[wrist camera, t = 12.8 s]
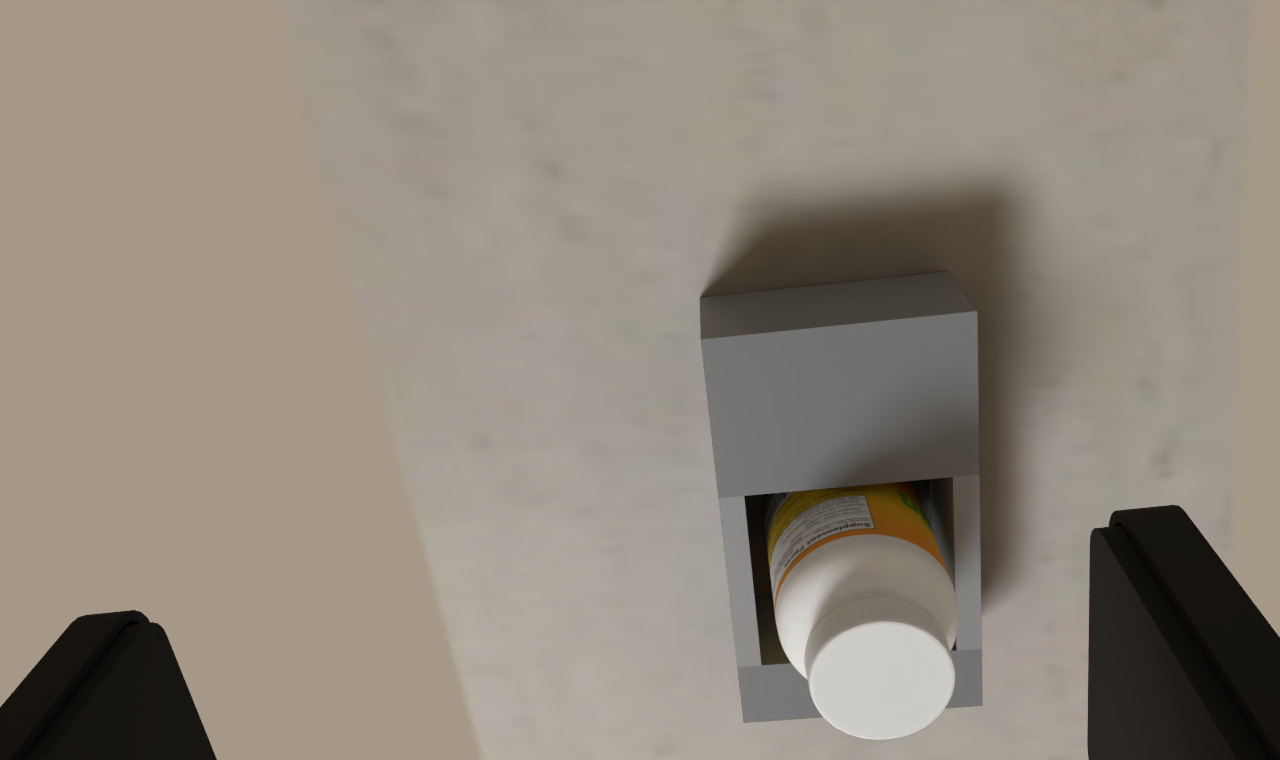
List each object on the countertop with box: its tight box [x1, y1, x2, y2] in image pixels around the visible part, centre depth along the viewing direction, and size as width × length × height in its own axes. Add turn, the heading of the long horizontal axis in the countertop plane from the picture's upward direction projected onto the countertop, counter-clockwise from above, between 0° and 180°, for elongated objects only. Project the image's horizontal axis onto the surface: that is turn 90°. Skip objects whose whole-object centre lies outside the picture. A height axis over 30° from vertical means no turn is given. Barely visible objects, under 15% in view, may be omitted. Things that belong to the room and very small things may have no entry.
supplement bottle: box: [764, 481, 959, 740], centre depth 35 cm, size 5×5×10 cm
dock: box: [700, 271, 982, 723], centre depth 37 cm, size 14×8×4 cm, turn 7°
